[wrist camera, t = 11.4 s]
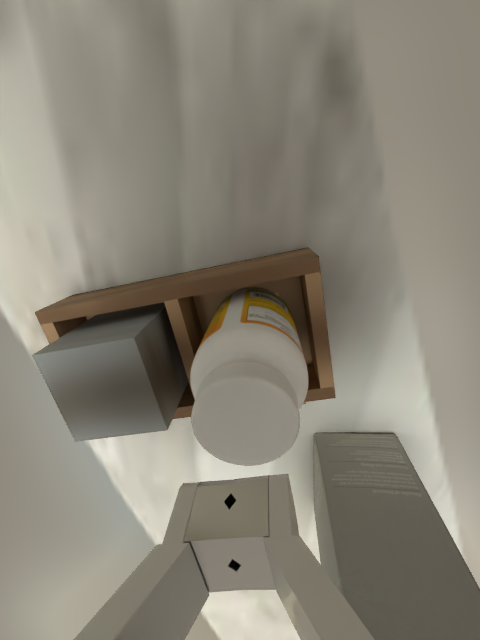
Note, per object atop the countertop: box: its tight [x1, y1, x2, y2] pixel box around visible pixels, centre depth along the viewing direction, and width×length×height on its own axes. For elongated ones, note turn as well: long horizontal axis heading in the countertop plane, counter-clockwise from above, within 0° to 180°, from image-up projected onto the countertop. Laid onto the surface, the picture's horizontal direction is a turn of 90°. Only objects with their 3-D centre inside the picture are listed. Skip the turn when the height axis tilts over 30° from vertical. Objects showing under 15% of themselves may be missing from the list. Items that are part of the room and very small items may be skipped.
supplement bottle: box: [190, 288, 309, 466], centre depth 15 cm, size 5×5×10 cm
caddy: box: [32, 248, 335, 441], centre depth 18 cm, size 9×16×7 cm, turn 102°
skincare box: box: [314, 433, 480, 640], centre depth 17 cm, size 8×7×16 cm
